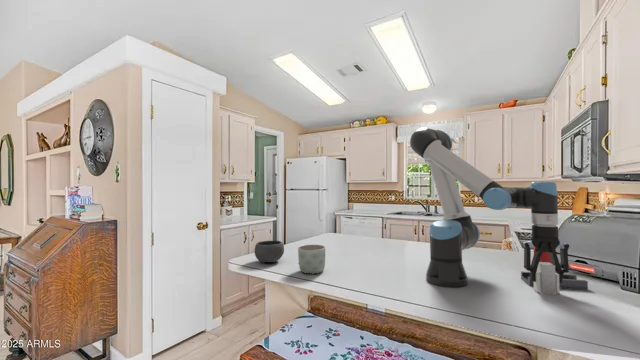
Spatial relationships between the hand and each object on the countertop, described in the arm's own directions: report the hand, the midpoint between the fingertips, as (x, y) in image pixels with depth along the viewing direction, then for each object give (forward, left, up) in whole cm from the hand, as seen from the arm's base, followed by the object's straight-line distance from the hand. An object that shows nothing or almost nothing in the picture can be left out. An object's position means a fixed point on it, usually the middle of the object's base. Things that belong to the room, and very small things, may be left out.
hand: (546, 291), depth 105 cm
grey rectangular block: (0, 0, 0) cm, 0 cm away
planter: (-88, +6, -1) cm, 88 cm away
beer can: (+9, +25, 0) cm, 27 cm away
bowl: (-114, +17, -1) cm, 115 cm away
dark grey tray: (+6, +10, 0) cm, 12 cm away
